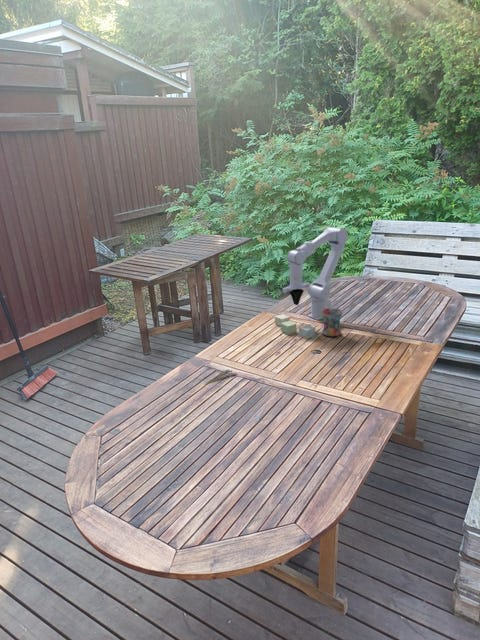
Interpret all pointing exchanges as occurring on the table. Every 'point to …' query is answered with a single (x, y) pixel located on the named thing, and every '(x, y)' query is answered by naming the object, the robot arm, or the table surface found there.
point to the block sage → (288, 327)
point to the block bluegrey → (306, 331)
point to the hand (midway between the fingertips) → (296, 304)
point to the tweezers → (220, 377)
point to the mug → (331, 321)
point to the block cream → (281, 319)
